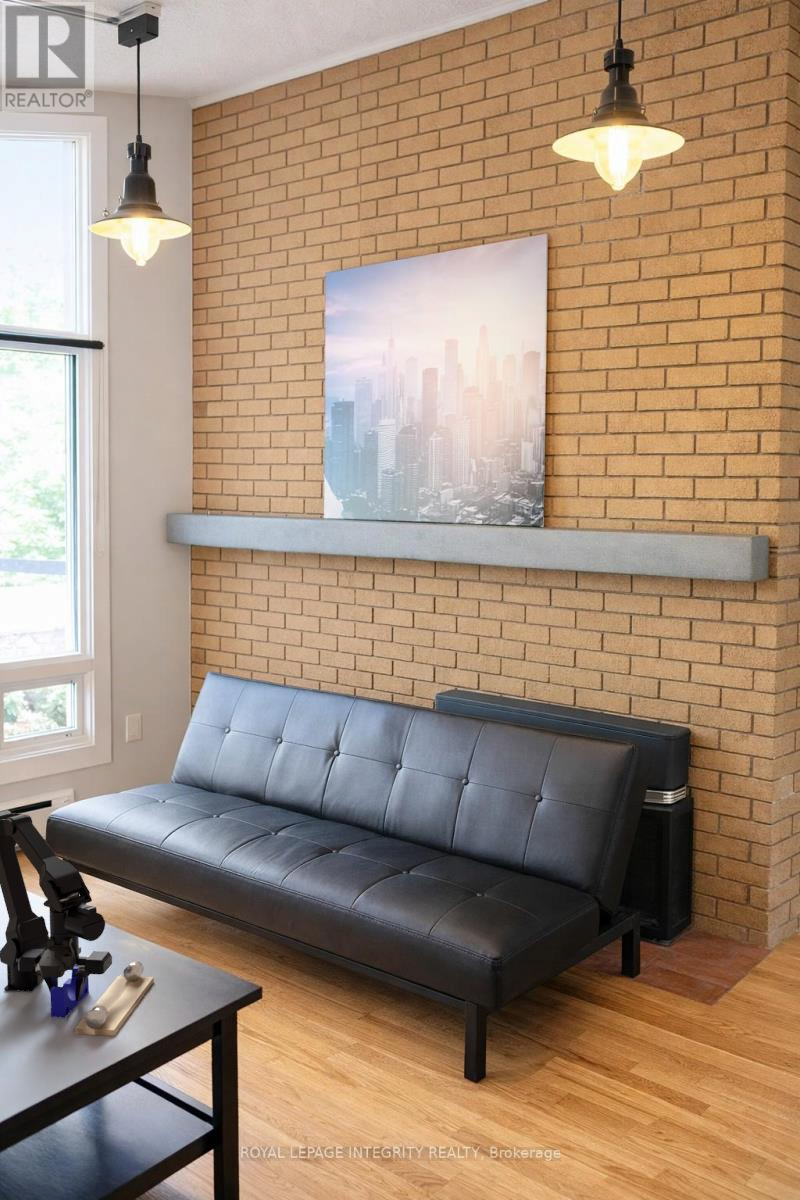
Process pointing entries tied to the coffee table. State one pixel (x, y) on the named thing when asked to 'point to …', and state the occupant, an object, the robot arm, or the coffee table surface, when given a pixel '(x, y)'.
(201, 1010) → the coffee table surface
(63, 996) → the cable clip
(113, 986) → the light wooden board
